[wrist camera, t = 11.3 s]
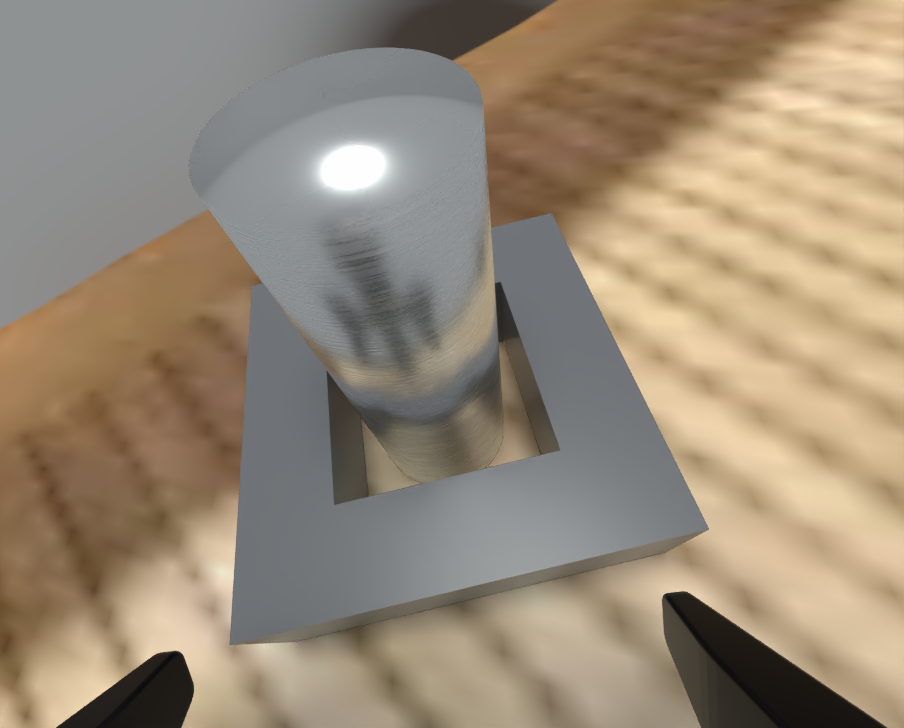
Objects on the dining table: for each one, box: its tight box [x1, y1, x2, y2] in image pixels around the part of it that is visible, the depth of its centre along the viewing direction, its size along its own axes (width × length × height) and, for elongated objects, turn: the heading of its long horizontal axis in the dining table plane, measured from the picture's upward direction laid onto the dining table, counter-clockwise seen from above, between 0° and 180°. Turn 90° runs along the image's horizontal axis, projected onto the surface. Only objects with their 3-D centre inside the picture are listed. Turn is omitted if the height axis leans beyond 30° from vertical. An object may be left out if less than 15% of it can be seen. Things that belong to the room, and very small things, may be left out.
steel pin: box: [189, 48, 504, 483], centre depth 13 cm, size 5×5×13 cm
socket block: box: [230, 213, 709, 645], centre depth 17 cm, size 13×13×4 cm
